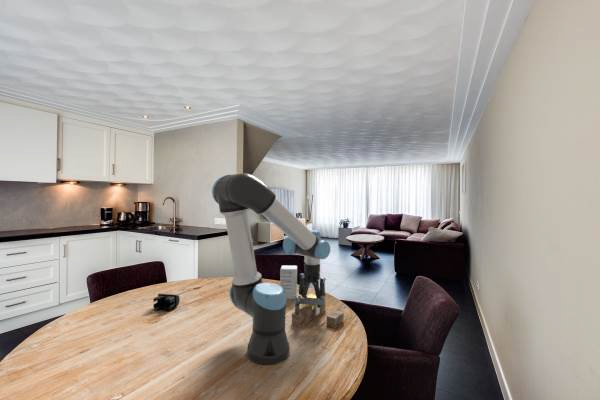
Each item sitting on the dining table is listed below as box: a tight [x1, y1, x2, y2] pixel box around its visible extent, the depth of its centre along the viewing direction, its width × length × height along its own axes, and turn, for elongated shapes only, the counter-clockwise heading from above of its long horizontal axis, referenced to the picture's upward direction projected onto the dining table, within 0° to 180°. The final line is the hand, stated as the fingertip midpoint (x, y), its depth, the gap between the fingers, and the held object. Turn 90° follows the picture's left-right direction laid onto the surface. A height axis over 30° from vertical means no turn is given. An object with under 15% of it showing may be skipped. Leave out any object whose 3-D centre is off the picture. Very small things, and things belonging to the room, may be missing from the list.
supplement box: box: [279, 264, 298, 300], centre depth 158 cm, size 10×9×17 cm
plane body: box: [291, 300, 327, 328], centre depth 130 cm, size 22×4×9 cm, turn 144°
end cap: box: [152, 293, 181, 313], centre depth 138 cm, size 10×7×7 cm
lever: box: [293, 295, 326, 307], centre depth 122 cm, size 14×3×4 cm, turn 83°
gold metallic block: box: [300, 293, 316, 310], centre depth 131 cm, size 8×6×4 cm
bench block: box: [326, 310, 345, 328], centre depth 125 cm, size 8×4×4 cm, turn 144°
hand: (311, 312), depth 131 cm, fingers closed on gold metallic block, 6 cm apart
